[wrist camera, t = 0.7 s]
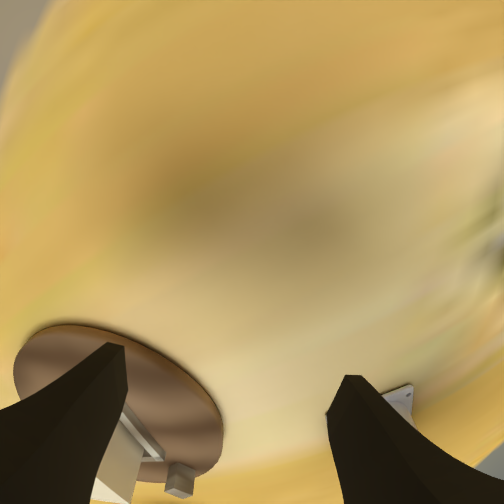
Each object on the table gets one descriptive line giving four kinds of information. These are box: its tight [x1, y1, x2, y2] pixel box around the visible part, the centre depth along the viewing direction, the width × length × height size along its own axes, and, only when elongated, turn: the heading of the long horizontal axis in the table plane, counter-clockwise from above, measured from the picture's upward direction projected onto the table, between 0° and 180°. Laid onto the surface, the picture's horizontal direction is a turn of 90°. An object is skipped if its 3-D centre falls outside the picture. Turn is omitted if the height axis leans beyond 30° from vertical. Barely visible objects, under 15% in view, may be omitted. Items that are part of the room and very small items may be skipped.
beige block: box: [91, 419, 144, 504], centre depth 18 cm, size 8×5×6 cm, turn 17°
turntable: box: [13, 325, 223, 499], centre depth 21 cm, size 20×20×4 cm
